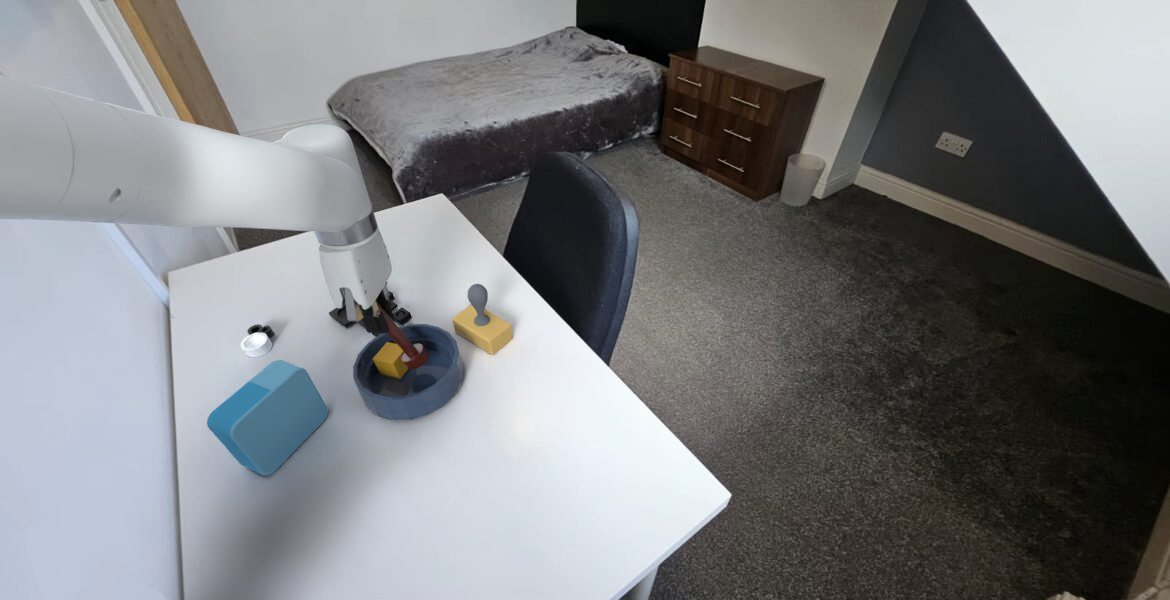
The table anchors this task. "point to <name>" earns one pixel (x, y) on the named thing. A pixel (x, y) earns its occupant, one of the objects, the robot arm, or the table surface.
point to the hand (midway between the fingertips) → (381, 325)
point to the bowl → (411, 375)
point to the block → (390, 361)
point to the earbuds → (260, 336)
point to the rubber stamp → (482, 323)
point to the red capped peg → (405, 344)
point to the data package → (269, 417)
